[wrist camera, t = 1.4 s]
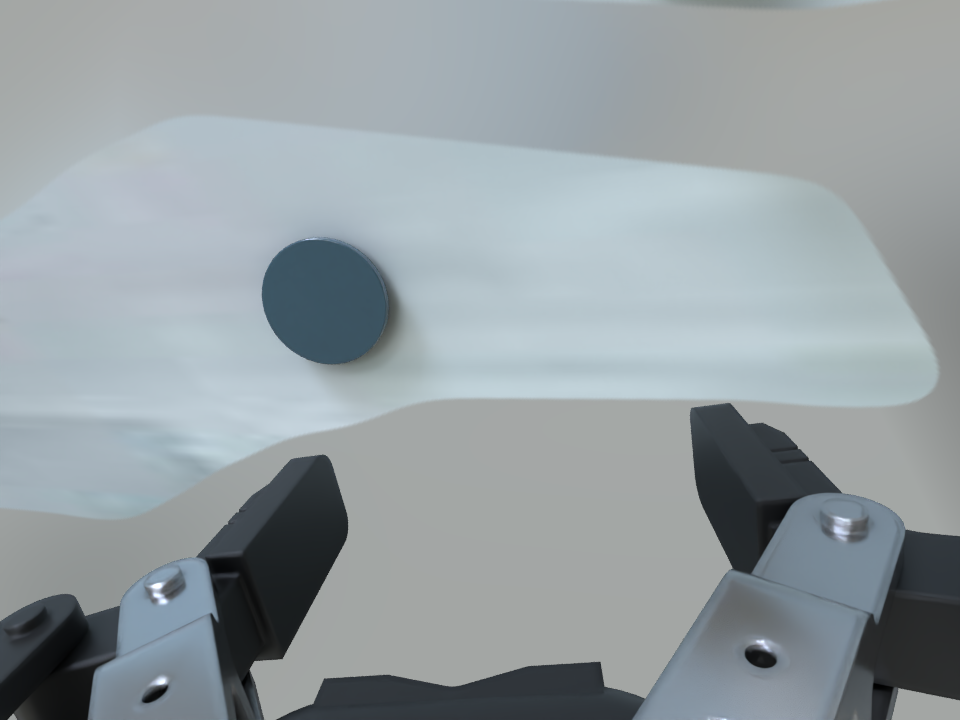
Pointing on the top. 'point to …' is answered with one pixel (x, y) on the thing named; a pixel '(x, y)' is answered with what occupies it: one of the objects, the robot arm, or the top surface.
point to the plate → (325, 300)
